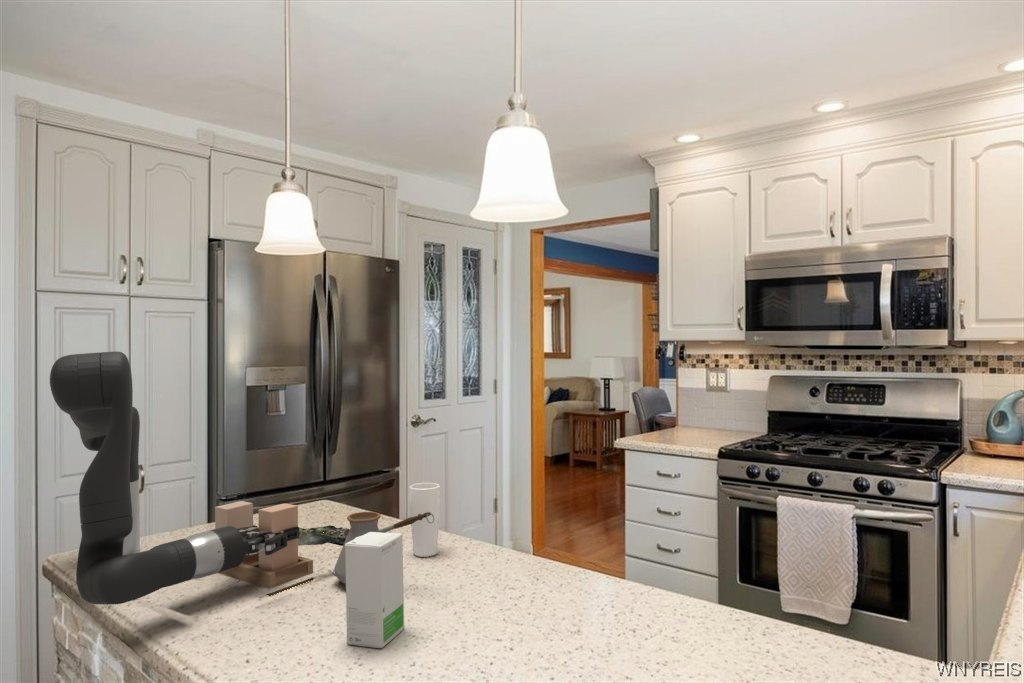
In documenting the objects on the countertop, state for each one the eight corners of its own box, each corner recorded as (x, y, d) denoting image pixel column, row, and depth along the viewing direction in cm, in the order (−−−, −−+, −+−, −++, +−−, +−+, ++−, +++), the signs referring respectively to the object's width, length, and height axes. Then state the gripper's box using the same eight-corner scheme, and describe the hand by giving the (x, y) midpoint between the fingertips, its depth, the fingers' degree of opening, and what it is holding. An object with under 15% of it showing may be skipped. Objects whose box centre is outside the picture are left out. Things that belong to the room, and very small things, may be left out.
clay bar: (258, 572, 129) (258, 509, 129) (284, 563, 134) (284, 503, 134) (272, 576, 127) (271, 512, 127) (298, 567, 132) (297, 505, 132)
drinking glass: (447, 552, 149) (446, 484, 149) (427, 561, 143) (426, 490, 143) (423, 547, 153) (422, 481, 152) (403, 555, 147) (402, 486, 147)
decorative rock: (322, 512, 170) (368, 514, 163) (322, 537, 170) (369, 540, 163) (262, 526, 153) (311, 529, 146) (262, 554, 153) (312, 558, 146)
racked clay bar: (215, 566, 137) (215, 507, 137) (242, 557, 142) (241, 500, 142) (227, 569, 135) (226, 509, 135) (253, 561, 140) (253, 503, 140)
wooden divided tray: (201, 574, 136) (200, 554, 136) (244, 560, 145) (244, 542, 145) (269, 596, 124) (269, 574, 124) (313, 580, 132) (313, 559, 132)
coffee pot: (321, 587, 128) (320, 508, 128) (359, 568, 139) (358, 495, 139) (416, 604, 119) (415, 520, 119) (449, 583, 130) (448, 505, 130)
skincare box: (381, 650, 102) (380, 547, 102) (343, 645, 104) (341, 544, 104) (406, 627, 110) (404, 532, 110) (369, 623, 112) (368, 529, 112)
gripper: (233, 537, 115) (314, 515, 129) (186, 525, 123) (267, 506, 137) (234, 581, 115) (314, 555, 129) (186, 566, 122) (267, 543, 137)
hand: (290, 530), depth 133 cm, fingers closed on clay bar, 4 cm apart
